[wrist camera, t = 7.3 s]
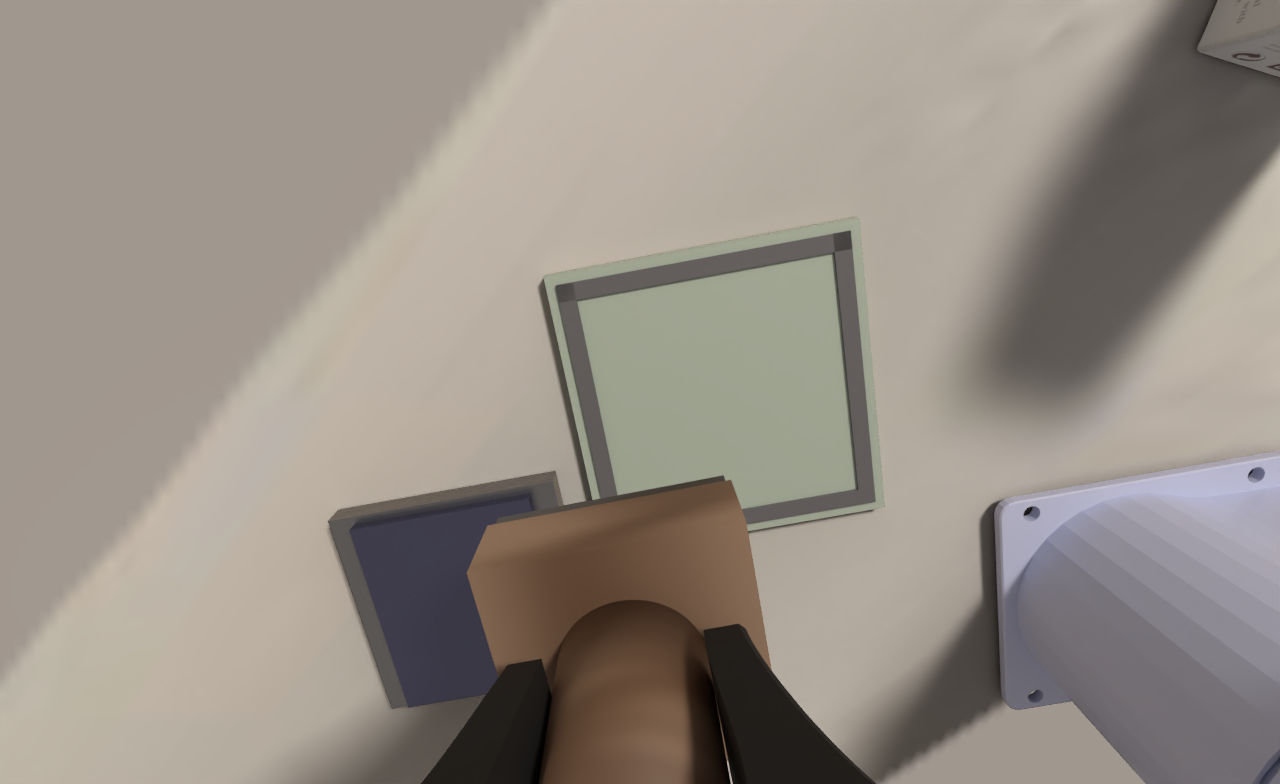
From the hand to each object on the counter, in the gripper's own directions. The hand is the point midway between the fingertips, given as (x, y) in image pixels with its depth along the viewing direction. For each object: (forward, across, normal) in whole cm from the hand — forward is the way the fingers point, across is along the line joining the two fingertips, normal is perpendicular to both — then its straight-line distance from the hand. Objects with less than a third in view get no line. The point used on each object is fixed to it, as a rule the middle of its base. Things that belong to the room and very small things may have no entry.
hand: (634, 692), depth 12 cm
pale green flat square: (+10, -3, -2) cm, 11 cm away
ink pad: (+10, +6, +3) cm, 12 cm away
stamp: (+3, 0, 0) cm, 3 cm away
